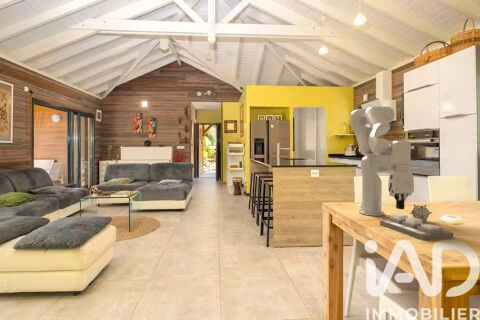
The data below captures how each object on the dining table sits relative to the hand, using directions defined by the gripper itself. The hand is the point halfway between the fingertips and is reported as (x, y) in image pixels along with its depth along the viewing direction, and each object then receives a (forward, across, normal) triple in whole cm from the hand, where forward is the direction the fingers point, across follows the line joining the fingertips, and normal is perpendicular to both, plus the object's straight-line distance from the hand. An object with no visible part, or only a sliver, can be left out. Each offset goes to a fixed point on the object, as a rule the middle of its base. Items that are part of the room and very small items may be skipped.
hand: (400, 208), depth 132 cm
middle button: (+5, 0, -8) cm, 9 cm away
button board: (+8, 0, -8) cm, 11 cm away
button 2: (+6, 0, -16) cm, 17 cm away
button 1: (+5, 0, 0) cm, 5 cm away
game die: (+8, +17, +6) cm, 20 cm away
